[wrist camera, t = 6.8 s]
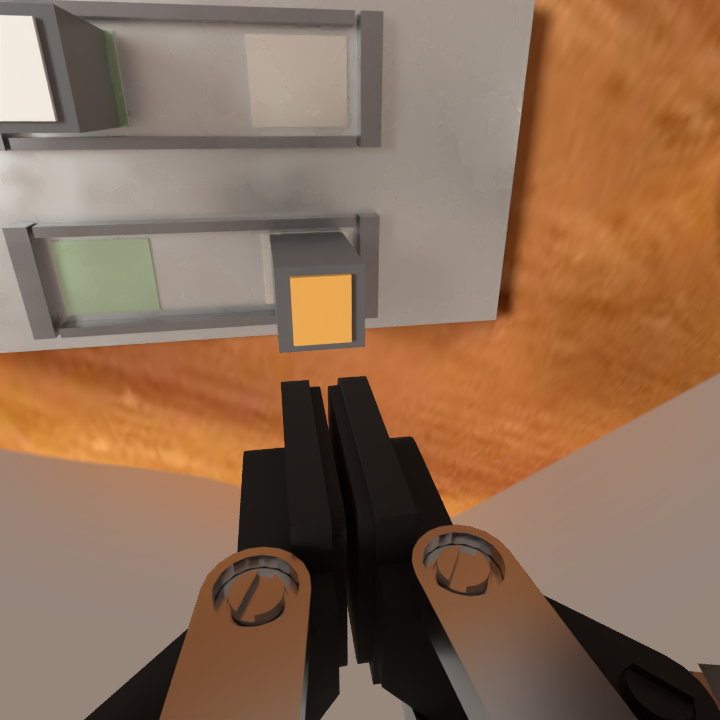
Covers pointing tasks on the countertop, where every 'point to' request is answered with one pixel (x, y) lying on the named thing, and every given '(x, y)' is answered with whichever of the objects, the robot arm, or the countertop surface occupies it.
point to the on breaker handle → (53, 72)
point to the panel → (267, 167)
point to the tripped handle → (317, 292)
